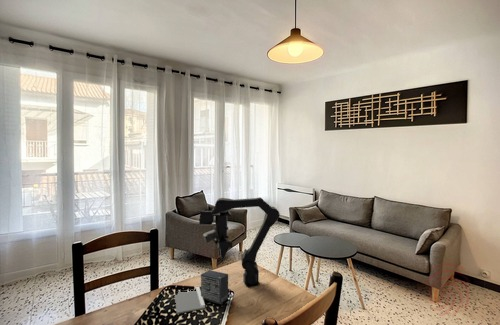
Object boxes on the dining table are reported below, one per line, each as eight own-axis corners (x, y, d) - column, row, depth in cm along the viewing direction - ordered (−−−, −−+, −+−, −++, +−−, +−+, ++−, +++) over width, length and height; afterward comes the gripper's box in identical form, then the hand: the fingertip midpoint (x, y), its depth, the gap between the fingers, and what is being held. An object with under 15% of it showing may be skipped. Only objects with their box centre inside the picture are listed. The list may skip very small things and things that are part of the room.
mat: (199, 289, 120) (199, 286, 120) (204, 308, 105) (204, 304, 105) (174, 293, 116) (174, 290, 116) (176, 313, 101) (176, 310, 101)
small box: (229, 298, 112) (229, 273, 112) (220, 305, 106) (220, 278, 107) (209, 292, 117) (209, 269, 118) (200, 298, 111) (200, 274, 112)
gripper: (201, 221, 131) (201, 252, 131) (208, 231, 114) (208, 267, 114) (223, 219, 135) (223, 249, 135) (232, 229, 117) (232, 263, 118)
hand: (221, 257), depth 125 cm, fingers open, 4 cm apart
